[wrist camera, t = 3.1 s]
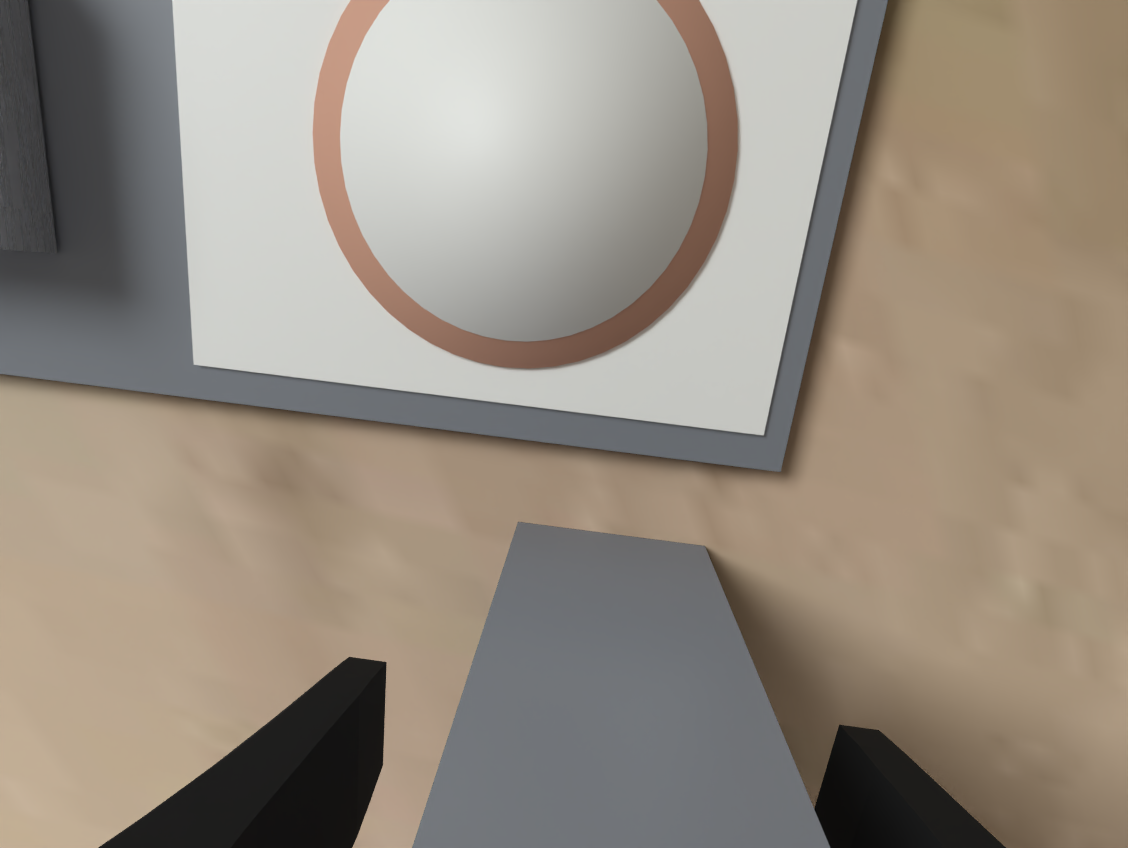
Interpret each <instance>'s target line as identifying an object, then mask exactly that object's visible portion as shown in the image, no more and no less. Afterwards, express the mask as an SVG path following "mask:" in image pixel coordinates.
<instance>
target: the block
mask: <svg viewBox="0 0 1128 848" xmlns="http://www.w3.org/2000/svg"><path fill="white" fill-rule="evenodd" d="M412 848H830V846H829V843H828V841H827V839H826V836H825V834H824V831H823V829H822V827H821V824H820V822H819V819H818V817H817V815H816V812H815V810H814V807H813V805H812V803H811V800H810V798H809V795H808V793H807V791H806V788H805V786H804V783H803V781H802V779H801V776H800V774H799V771H798V769H797V767H796V764H795V762H794V759H793V757H792V755H791V752H790V750H789V747H788V745H787V742H786V740H785V738H784V735H783V733H782V730H781V728H780V726H779V723H778V721H777V718H776V716H775V714H774V711H773V709H772V706H771V704H770V702H769V699H768V697H767V694H766V692H765V690H764V687H763V685H762V682H761V680H760V678H759V675H758V673H757V670H756V668H755V666H754V663H753V661H752V658H751V656H750V654H749V651H748V649H747V646H746V644H745V642H744V639H743V637H742V634H741V632H740V629H739V627H738V625H737V622H736V620H735V617H734V615H733V613H732V610H731V608H730V605H729V603H728V601H727V598H726V596H725V593H724V591H723V589H722V586H721V584H720V581H719V579H718V577H717V574H716V572H715V569H714V567H713V565H712V562H711V560H710V557H709V555H708V553H707V550H706V548H705V546H700V545H693V544H685V543H677V542H669V541H662V540H654V539H646V538H639V537H631V536H623V535H615V534H608V533H600V532H592V531H585V530H577V529H569V528H561V527H554V526H546V525H538V524H531V523H523V522H518V524H517V527H516V530H515V533H514V536H513V539H512V542H511V545H510V549H509V552H508V555H507V558H506V561H505V564H504V567H503V570H502V573H501V576H500V579H499V582H498V585H497V589H496V592H495V595H494V598H493V601H492V604H491V607H490V610H489V613H488V616H487V619H486V622H485V625H484V629H483V632H482V635H481V638H480V641H479V644H478V647H477V650H476V653H475V656H474V659H473V662H472V665H471V669H470V672H469V675H468V678H467V681H466V684H465V687H464V690H463V693H462V696H461V699H460V702H459V705H458V709H457V712H456V715H455V718H454V721H453V724H452V727H451V730H450V733H449V736H448V739H447V742H446V745H445V749H444V752H443V755H442V758H441V761H440V764H439V767H438V770H437V773H436V776H435V779H434V782H433V786H432V789H431V792H430V795H429V798H428V801H427V804H426V807H425V810H424V813H423V816H422V819H421V822H420V826H419V829H418V832H417V835H416V838H415V841H414V844H413V847H412Z"/></svg>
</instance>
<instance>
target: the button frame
mask: <svg viewBox="0 0 1128 848" xmlns="http://www.w3.org/2000/svg"><path fill="white" fill-rule="evenodd" d="M0 250H17V251H34V252H51V253H57V247H56V239H55V230H54V222H53V213H52V204H51V196H50V187H49V179H48V170H47V161H46V153H45V144H44V136H43V127H42V119H41V110H40V101H39V93H38V84H37V76H36V67H35V59H34V50H33V41H32V33H31V24H30V16H29V7H28V0H0Z"/></svg>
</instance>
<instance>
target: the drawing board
mask: <svg viewBox="0 0 1128 848" xmlns="http://www.w3.org/2000/svg"><path fill="white" fill-rule="evenodd" d="M887 2H888V0H28V7H29V16H30V24H31V33H32V41H33V50H34V59H35V67H36V76H37V84H38V93H39V101H40V110H41V119H42V127H43V136H44V144H45V153H46V161H47V170H48V179H49V187H50V196H51V204H52V213H53V222H54V230H55V239H56V247H57V253H51V252H34V251H17V250H0V374H6V375H14V376H22V377H30V378H38V379H46V380H54V381H61V382H69V383H77V384H85V385H93V386H101V387H109V388H117V389H125V390H133V391H141V392H149V393H157V394H165V395H173V396H181V397H189V398H196V399H204V400H212V401H220V402H228V403H236V404H244V405H252V406H260V407H268V408H276V409H284V410H292V411H300V412H308V413H316V414H324V415H332V416H339V417H347V418H355V419H363V420H371V421H379V422H387V423H395V424H403V425H411V426H419V427H427V428H435V429H443V430H451V431H459V432H467V433H475V434H482V435H490V436H498V437H506V438H514V439H522V440H530V441H538V442H546V443H554V444H562V445H570V446H578V447H586V448H594V449H602V450H610V451H618V452H625V453H633V454H641V455H649V456H657V457H665V458H673V459H681V460H689V461H697V462H705V463H713V464H721V465H729V466H737V467H745V468H753V469H760V470H768V471H776V472H781V468H782V464H783V459H784V455H785V450H786V446H787V442H788V437H789V433H790V428H791V424H792V420H793V415H794V411H795V406H796V402H797V398H798V393H799V389H800V384H801V380H802V376H803V371H804V367H805V363H806V358H807V354H808V349H809V345H810V341H811V336H812V332H813V327H814V323H815V319H816V314H817V310H818V305H819V301H820V297H821V292H822V288H823V283H824V279H825V275H826V270H827V266H828V261H829V257H830V253H831V248H832V244H833V239H834V235H835V231H836V226H837V222H838V217H839V213H840V209H841V204H842V200H843V196H844V191H845V187H846V182H847V178H848V174H849V169H850V165H851V160H852V156H853V152H854V147H855V143H856V138H857V134H858V130H859V125H860V121H861V116H862V112H863V108H864V103H865V99H866V94H867V90H868V86H869V81H870V77H871V72H872V68H873V64H874V59H875V55H876V51H877V46H878V42H879V37H880V33H881V29H882V24H883V20H884V15H885V11H886V7H887Z"/></svg>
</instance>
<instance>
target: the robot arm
mask: <svg viewBox="0 0 1128 848" xmlns="http://www.w3.org/2000/svg"><path fill="white" fill-rule="evenodd" d="M385 688H386V662H382V661H374V660H367V659H360V658H353V657H349V658H347V659H346V660H344V661H343V662H342V663H341V664H339V665H338V666H337V667H336V668H334V669H333V670H332V671H331V672H329V673H328V674H327V675H326V676H325V677H323V678H322V679H321V680H320V681H318V682H317V683H316V684H315V685H314V686H312V687H311V688H310V689H309V690H308V691H306V692H305V693H304V694H303V695H302V696H300V697H299V698H298V699H297V700H295V701H294V702H293V703H292V704H291V705H289V706H288V707H287V708H286V709H284V710H283V711H282V712H281V713H280V714H278V715H277V716H276V717H275V718H273V719H272V720H271V721H270V722H268V723H267V724H266V725H265V726H263V727H262V728H261V729H259V730H258V731H257V732H256V733H254V734H253V735H252V736H251V737H249V738H248V739H247V740H245V741H244V742H243V743H242V744H240V745H239V746H238V747H237V748H235V749H234V750H233V751H232V752H230V753H229V754H228V755H226V756H225V757H224V758H223V759H221V760H220V761H219V762H217V763H216V764H215V765H213V766H212V767H211V768H209V769H208V770H207V771H205V772H204V773H203V774H201V775H200V776H199V777H197V778H196V779H194V780H193V781H192V782H190V783H189V784H188V785H186V786H185V787H183V788H182V789H181V790H179V791H178V792H177V793H175V794H174V795H173V796H171V797H170V798H168V799H167V800H166V801H164V802H163V803H162V804H160V805H159V806H157V807H156V808H155V809H153V810H152V811H151V812H149V813H148V814H146V815H145V816H144V817H142V818H141V819H139V820H138V821H137V822H135V823H134V824H132V825H131V826H129V827H128V828H126V829H125V830H123V831H122V832H121V833H119V834H118V835H116V836H115V837H113V838H112V839H110V840H109V841H107V842H106V843H105V844H103V845H102V846H100V847H99V848H352V847H353V844H354V842H355V840H356V838H357V835H358V833H359V830H360V827H361V824H362V822H363V819H364V816H365V814H366V811H367V808H368V806H369V803H370V800H371V797H372V794H373V791H374V789H375V786H376V783H377V780H378V777H379V774H380V772H381V769H382V766H383V745H384V716H385ZM814 810H815V812H816V815H817V817H818V819H819V822H820V824H821V827H822V829H823V831H824V834H825V836H826V839H827V841H828V843H829V846H830V848H1006V847H1004V846H1003V845H1002V844H1001V843H1000V842H999V841H998V840H997V839H996V838H995V837H994V836H993V835H992V834H990V833H989V832H988V831H987V830H986V829H985V828H984V827H983V826H982V825H981V824H980V823H979V822H978V821H977V820H975V819H974V818H973V817H972V816H971V815H970V814H969V813H968V812H967V811H966V810H965V809H964V808H963V807H962V806H961V805H960V804H959V803H957V802H956V801H955V800H954V799H953V798H952V797H951V796H950V795H949V794H948V793H947V792H946V791H945V790H944V789H943V788H942V787H940V786H939V785H938V784H937V783H936V782H935V781H934V780H933V779H932V778H931V777H930V776H929V775H928V774H927V773H926V772H924V771H923V770H922V769H921V768H920V767H919V766H918V765H917V764H916V763H915V762H914V761H913V760H912V759H911V758H909V757H908V756H907V755H906V754H905V753H904V752H903V751H902V750H901V749H900V748H898V747H897V746H896V745H895V744H894V743H893V742H892V741H891V740H889V739H888V738H887V737H886V736H885V735H884V734H883V733H881V732H880V731H879V730H873V729H866V728H858V727H851V726H844V725H839V728H838V731H837V735H836V738H835V741H834V745H833V748H832V751H831V755H830V758H829V762H828V765H827V768H826V772H825V775H824V778H823V782H822V785H821V788H820V792H819V795H818V799H817V802H816V805H815V809H814Z"/></svg>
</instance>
